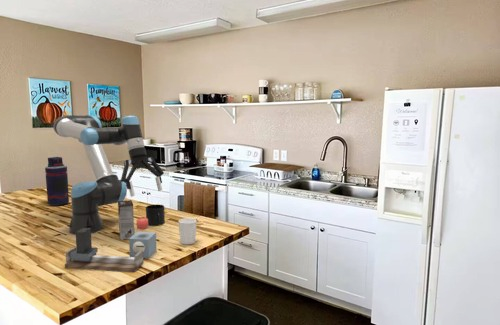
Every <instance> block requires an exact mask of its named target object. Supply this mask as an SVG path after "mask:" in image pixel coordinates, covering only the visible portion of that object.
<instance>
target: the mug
mask: <svg viewBox="0 0 500 325" xmlns="http://www.w3.org/2000/svg"><path fill="white" fill-rule="evenodd" d="M145 218H147V219H148V226H152V227H157V226H161V225H163V224H165V222H166V221H165V205H163V204H158V203H157V204H150V205H146V206H145Z"/></svg>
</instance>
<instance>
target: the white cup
mask: <svg viewBox="0 0 500 325" xmlns="http://www.w3.org/2000/svg"><path fill="white" fill-rule="evenodd" d="M197 221H198V220H197V219H196V218H193V217H185V218H181V219H178V230H179V231H178V233H179V239H180V240H179V242H180V244H182V245H192V244H195V243H196V238H197V237H196V236H197Z"/></svg>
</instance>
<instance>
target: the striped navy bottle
mask: <svg viewBox="0 0 500 325" xmlns="http://www.w3.org/2000/svg"><path fill="white" fill-rule="evenodd" d="M44 170H45V171H44V172H45V184H46V200H47V204H48V206H54V207H59V205H60V206H61V205H64V204H66V205H68V204H69V202H70V195H69V193H70V192H69V182H68V181H69V180H68V179H69V178H68V166H66V165H65V164H64V162H63V157H61V156H53V157H47V166H46V167H45V168H44Z"/></svg>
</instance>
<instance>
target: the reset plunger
mask: <svg viewBox="0 0 500 325" xmlns="http://www.w3.org/2000/svg"><path fill="white" fill-rule="evenodd" d="M136 229H137V230H138V231H139V230H140V231H141V230H142V231H144V230H147V229H149V225H148V219H147V218H146V217H141V218H137V219H136Z"/></svg>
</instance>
